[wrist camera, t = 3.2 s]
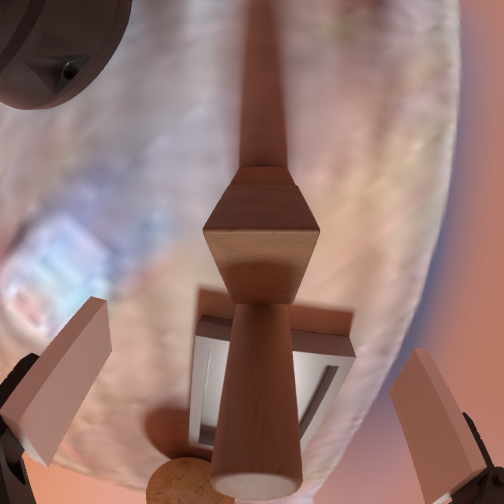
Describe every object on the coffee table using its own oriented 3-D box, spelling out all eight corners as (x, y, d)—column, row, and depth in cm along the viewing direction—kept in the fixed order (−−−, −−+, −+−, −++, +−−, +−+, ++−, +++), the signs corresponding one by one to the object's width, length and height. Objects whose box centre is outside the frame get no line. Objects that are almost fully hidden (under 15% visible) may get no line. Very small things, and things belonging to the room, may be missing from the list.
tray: (201, 315, 27) (195, 335, 24) (349, 336, 28) (356, 357, 25) (192, 428, 35) (188, 446, 32) (297, 441, 35) (298, 459, 32)
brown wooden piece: (288, 165, 22) (357, 294, 5) (284, 294, 26) (300, 503, 10) (237, 165, 22) (155, 293, 6) (241, 294, 26) (213, 501, 10)
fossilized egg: (237, 480, 41) (230, 554, 27) (164, 470, 42) (147, 541, 28) (238, 447, 36) (229, 541, 22) (149, 435, 37) (124, 521, 23)
